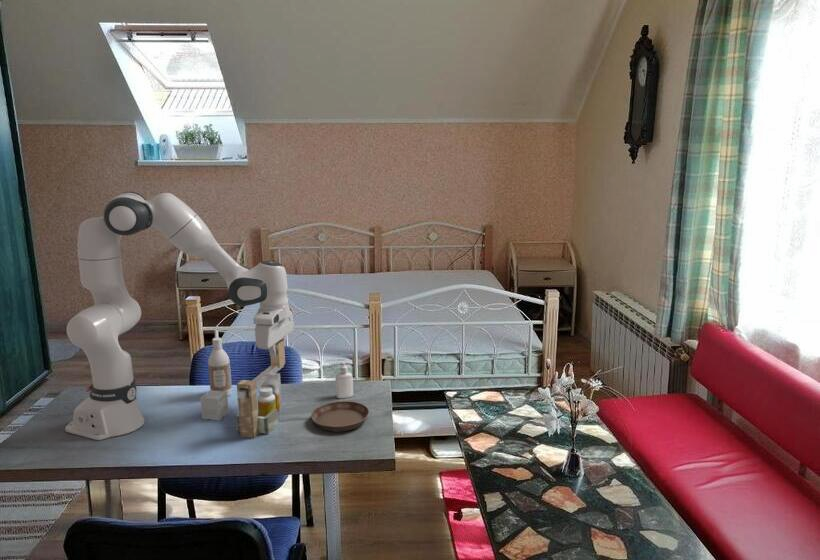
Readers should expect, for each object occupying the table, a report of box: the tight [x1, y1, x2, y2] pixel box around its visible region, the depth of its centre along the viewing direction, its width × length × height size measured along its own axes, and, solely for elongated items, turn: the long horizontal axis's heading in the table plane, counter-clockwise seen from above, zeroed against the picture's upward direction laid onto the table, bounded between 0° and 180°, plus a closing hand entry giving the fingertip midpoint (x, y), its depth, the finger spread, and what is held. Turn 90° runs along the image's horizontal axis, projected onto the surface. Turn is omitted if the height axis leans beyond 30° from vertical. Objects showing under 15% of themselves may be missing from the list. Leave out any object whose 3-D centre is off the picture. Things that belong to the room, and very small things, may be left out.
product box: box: [200, 389, 229, 421], centre depth 198 cm, size 6×6×7 cm
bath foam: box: [207, 337, 233, 397], centre depth 213 cm, size 7×7×20 cm
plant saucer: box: [311, 400, 370, 433], centre depth 194 cm, size 18×18×3 cm
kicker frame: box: [235, 379, 279, 439], centre depth 187 cm, size 10×10×17 cm
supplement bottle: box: [257, 387, 276, 417], centre depth 196 cm, size 5×5×10 cm
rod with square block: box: [237, 340, 286, 413], centre depth 192 cm, size 6×26×21 cm, turn 166°
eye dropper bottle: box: [335, 362, 354, 399], centre depth 211 cm, size 4×6×12 cm
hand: (277, 353), depth 201 cm, fingers open, 4 cm apart
